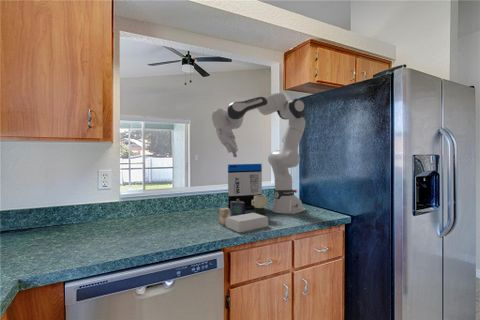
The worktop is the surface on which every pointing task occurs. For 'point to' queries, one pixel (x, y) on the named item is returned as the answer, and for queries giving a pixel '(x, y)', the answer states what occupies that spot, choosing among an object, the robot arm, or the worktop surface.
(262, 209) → the character mug
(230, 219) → the grey box
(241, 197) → the protein powder
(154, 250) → the worktop surface
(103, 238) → the worktop surface
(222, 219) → the maple block
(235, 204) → the flask
